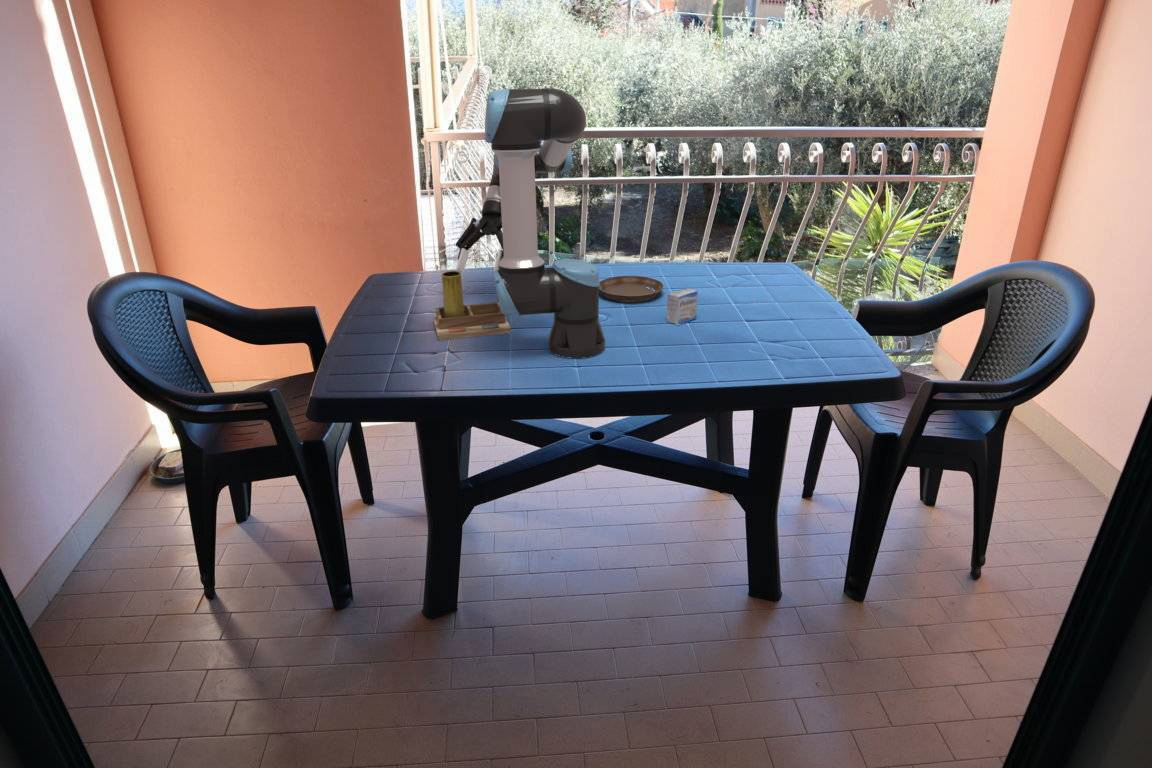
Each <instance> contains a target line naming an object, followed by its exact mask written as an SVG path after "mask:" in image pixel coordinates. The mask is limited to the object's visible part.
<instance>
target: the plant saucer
mask: <svg viewBox="0 0 1152 768" xmlns="http://www.w3.org/2000/svg"><path fill="white" fill-rule="evenodd" d="M599 283H600V285H599V293H601V294H602V295H603V296H604V297H605V298H607V299H609V300H612V301H614V300H615V302H619V301H620V303H642V301H643V302H646V300H647V301H650V300H652V298H653V299H654V298H655V297H657V296H658V295H659V294H660V293H661V292H662V290H663V289H664V287H665V286H664V283H663V282H661V281H659V280H658V279H655V278H652V277H647V276H639V275H620V276H619V275H617V276H612V277H608V278H605V279H602V280H601V281H600V280H599ZM646 287H649V288H650V289H648V288H646ZM652 288H653V290H655V291H653V290H651V289H652Z"/></svg>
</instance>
